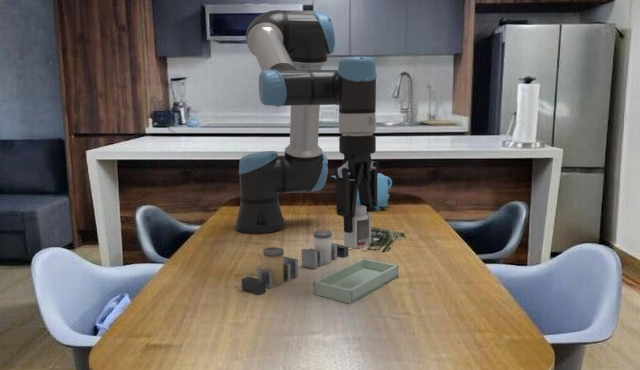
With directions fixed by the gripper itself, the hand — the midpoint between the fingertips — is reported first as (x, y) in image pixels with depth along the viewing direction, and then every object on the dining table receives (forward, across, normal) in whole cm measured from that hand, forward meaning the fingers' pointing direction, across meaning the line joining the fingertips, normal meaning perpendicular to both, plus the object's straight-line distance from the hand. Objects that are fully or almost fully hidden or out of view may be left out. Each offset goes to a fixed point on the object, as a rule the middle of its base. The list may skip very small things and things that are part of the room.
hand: (357, 243), depth 114 cm
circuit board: (+10, +33, +16) cm, 38 cm away
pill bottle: (+1, 0, 0) cm, 1 cm away
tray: (+9, 0, 0) cm, 9 cm away
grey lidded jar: (+9, +9, +16) cm, 21 cm away
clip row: (+9, 0, +16) cm, 19 cm away
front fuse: (+9, -9, +16) cm, 21 cm away
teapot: (+9, +66, +41) cm, 78 cm away
